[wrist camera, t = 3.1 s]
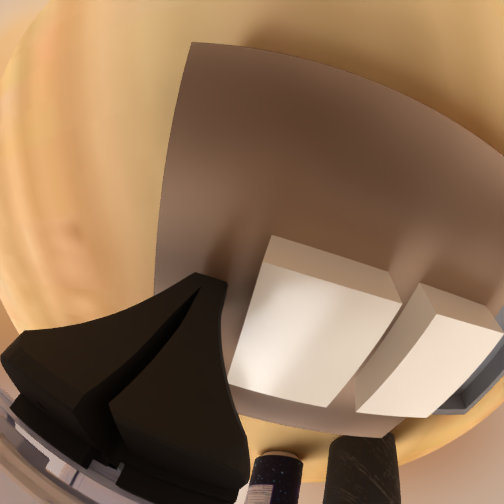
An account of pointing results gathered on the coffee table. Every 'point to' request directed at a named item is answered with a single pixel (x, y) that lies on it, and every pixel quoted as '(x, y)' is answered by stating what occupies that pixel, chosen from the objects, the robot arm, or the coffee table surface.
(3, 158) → the coffee table surface
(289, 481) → the beverage can
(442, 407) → the box
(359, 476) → the travel mug
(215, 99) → the brown wooden block
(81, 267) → the coffee table surface
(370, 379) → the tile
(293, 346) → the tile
